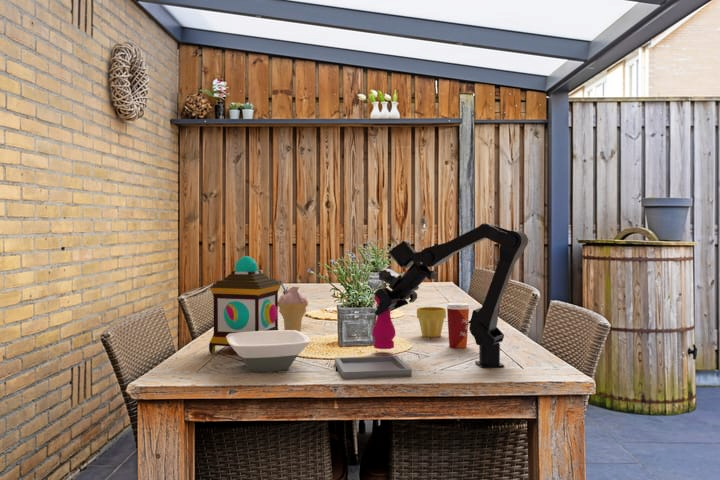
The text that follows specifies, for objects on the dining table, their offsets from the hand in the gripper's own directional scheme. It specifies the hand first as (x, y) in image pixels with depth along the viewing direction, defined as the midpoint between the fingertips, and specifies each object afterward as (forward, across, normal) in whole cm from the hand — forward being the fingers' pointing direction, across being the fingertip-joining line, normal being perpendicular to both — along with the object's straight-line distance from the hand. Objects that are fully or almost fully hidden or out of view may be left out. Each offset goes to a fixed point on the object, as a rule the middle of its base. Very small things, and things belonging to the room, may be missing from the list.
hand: (380, 313), depth 197 cm
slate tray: (+2, +22, +15) cm, 27 cm away
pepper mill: (+7, 0, +8) cm, 11 cm away
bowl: (+21, +34, -4) cm, 40 cm away
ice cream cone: (+37, -9, -20) cm, 43 cm away
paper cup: (-3, -21, +21) cm, 30 cm away
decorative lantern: (+35, +19, -18) cm, 44 cm away
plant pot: (+8, -36, +10) cm, 38 cm away
